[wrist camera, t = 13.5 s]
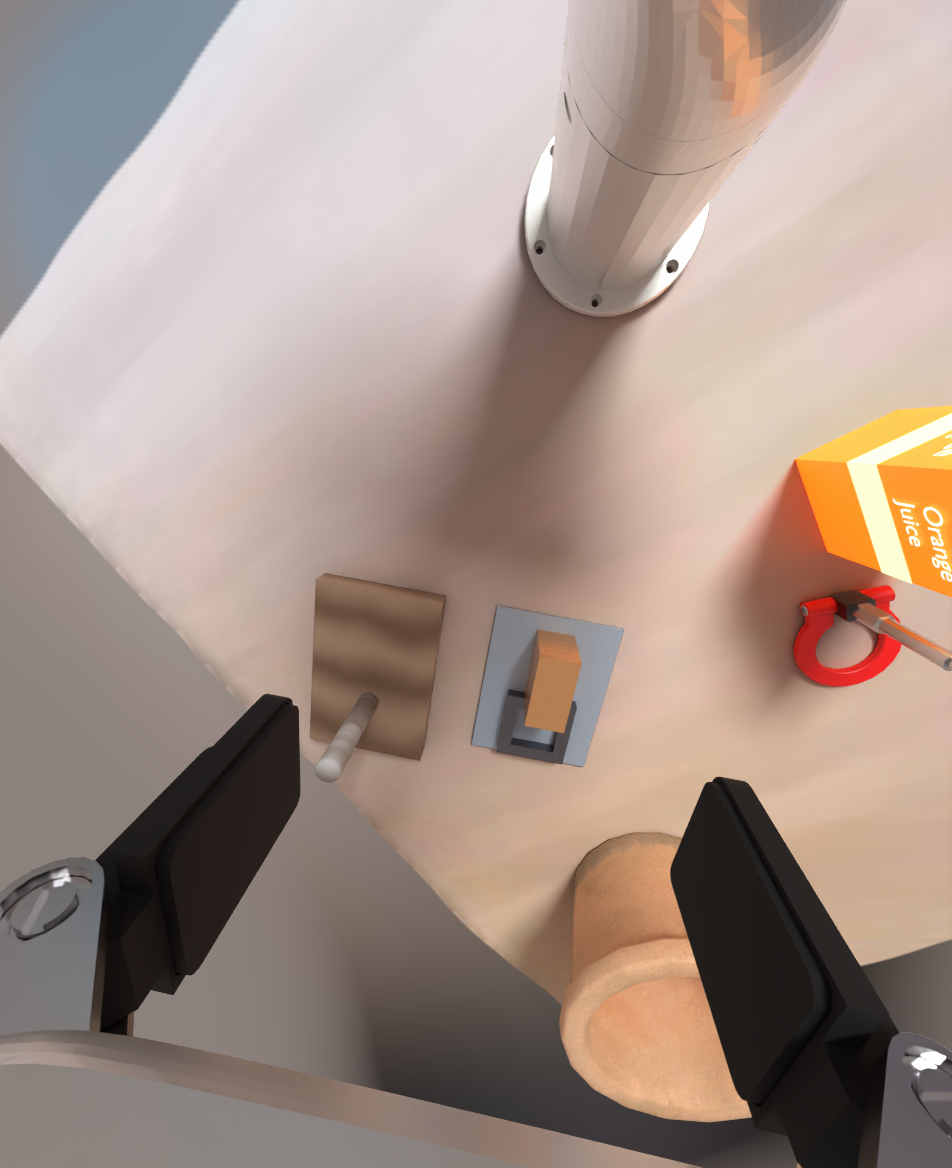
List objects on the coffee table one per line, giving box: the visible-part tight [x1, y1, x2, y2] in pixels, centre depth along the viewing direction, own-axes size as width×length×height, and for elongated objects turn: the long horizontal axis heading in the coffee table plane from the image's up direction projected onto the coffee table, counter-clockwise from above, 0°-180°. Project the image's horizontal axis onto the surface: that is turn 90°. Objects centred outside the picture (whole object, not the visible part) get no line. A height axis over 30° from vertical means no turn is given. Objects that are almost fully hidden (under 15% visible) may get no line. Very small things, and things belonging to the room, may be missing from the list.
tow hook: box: [793, 585, 952, 686], centre depth 34 cm, size 8×13×9 cm
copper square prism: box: [497, 629, 582, 764], centre depth 41 cm, size 14×7×6 cm, turn 172°
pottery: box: [559, 833, 752, 1122], centre depth 44 cm, size 22×22×14 cm
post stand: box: [310, 573, 446, 782], centre depth 39 cm, size 18×12×12 cm, turn 171°
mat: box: [471, 605, 624, 767], centre depth 44 cm, size 16×12×1 cm
